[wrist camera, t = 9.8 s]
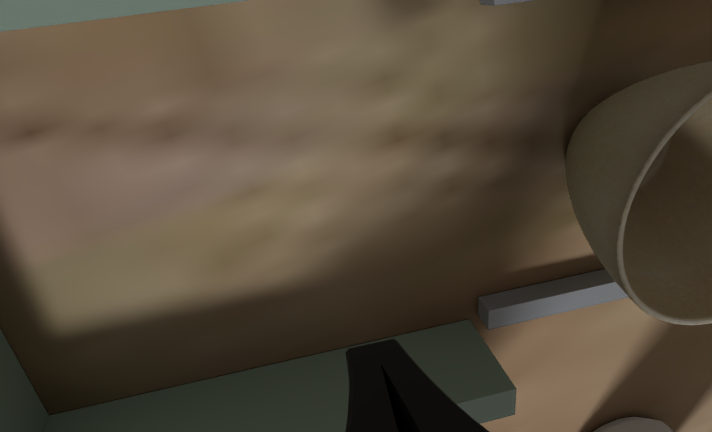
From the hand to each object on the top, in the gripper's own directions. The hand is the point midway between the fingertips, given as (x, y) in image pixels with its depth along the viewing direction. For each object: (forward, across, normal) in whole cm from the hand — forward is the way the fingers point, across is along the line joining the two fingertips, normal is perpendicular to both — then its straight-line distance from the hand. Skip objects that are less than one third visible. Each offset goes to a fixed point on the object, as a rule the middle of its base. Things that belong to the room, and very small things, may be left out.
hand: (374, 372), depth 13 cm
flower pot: (+10, -14, -1) cm, 17 cm away
